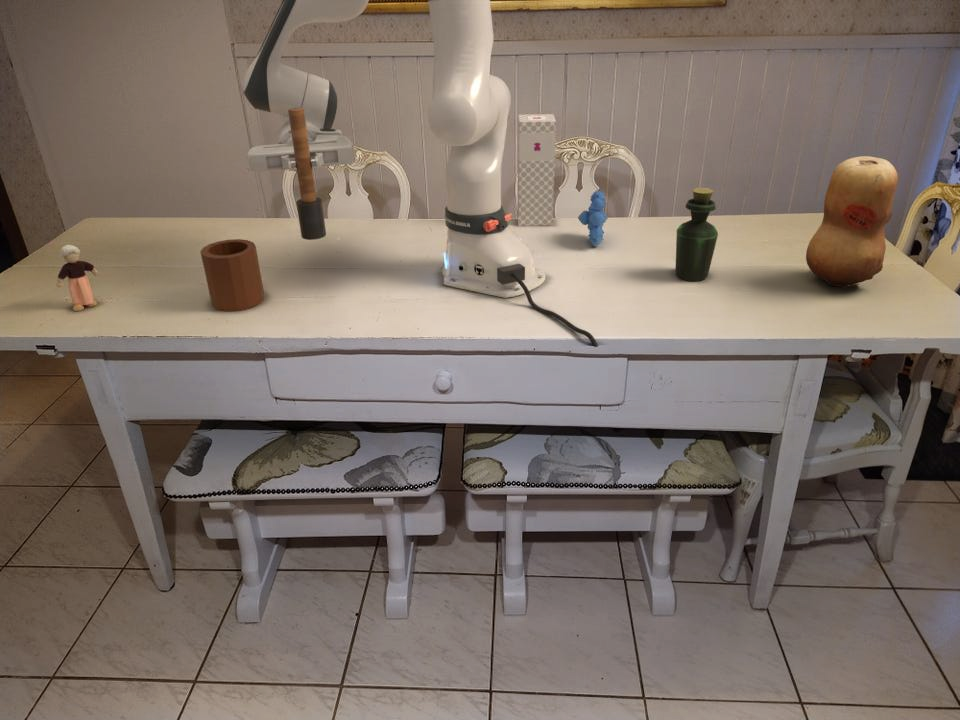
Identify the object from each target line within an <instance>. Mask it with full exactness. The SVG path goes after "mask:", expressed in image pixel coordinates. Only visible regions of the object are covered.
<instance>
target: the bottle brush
mask: <svg viewBox="0 0 960 720" xmlns="http://www.w3.org/2000/svg"><path fill="white" fill-rule="evenodd" d="M288 114H289V121H290V127H291V134H292V141H293V148H294V154H295V161H296V166H297V172H296V174H297V181H298V188H299V194H300V198H299V199H297V200H296V203H295V204H296V209H297V210H296V211H297V217H298V224H299V229H300V235H301V238H302V239H303V240H306V241H307V240H309V241H313V240H314V241H315V240H320V239H323V238H325V237H326V236H327V230H326V229H327V228H326V221H325V214H324V207H323V200H322V199H321V198H320V197H317V195H316V189H315V188H316V187H315V180H314V174H313V169H312V167H311V158H310V151H309V144H308V136H307V129H306V122H305V115H304V108H290V109H288Z"/></svg>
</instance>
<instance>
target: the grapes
mask: <svg viewBox="0 0 960 720" xmlns="http://www.w3.org/2000/svg"><path fill="white" fill-rule="evenodd" d="M605 201H606V195H605V194H604V193H603V191H601V190H600V189H597V190H595V191H593V193H592V194H591V196H590V202H591V203H590V205H589V207H588V209H587V210H583V211H582V212H581V213H580V214H579V215H578V217H577V219H578V220H579V222H580V223H581V224H582V225H583V226H587V229H588V231H589V232H588V233H589V234H588V240H589V242H590V244H591V245H593V246H594V247H597V246H599V245H600V244H601V243H602V242H603V241H604V238H603V237H604V233H605V231H604V230H603V226H604V224H605V223H606V221H607V220H608V216H607V214H605V210H604V208H605V207H606V203H605Z"/></svg>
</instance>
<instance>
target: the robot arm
mask: <svg viewBox="0 0 960 720" xmlns="http://www.w3.org/2000/svg"><path fill="white" fill-rule="evenodd" d="M369 2H370V0H282V1H281V4H280V5H279V7H278V9H277V11H276V14H275V16H274V17H273V19H272V23H271V24H270V27H269V28H268V31H267V33H266V35H265V37H264V40H263V42H262V44H261V46H260V48H259V50H258V53H257V54H256V55H255V58H254V60H253V61H252V62H251V64H250V65H249V67H248V69H247V71H246V73H245V76H244V80H243V94H244V97H245V98H246V100H247V101H248V102H249V105H251V107H253V108H254V110H259V111H264V112H266V113H273V114H277V115H280V116H283V117H284V119H283V120H282V121H281V122H280V124H279V126H278V127H277V130H276V131H277V132H276V143H274V144H262V145H261V144H260V145H255V146H253V147H251V148H250V149H249V150H248V151H247V154H246V158H247V162H248V167H249V171H250V172H252V173H265V172H266V173H267V172H277V171H289V172H296V173H297V166H296V161H295V154H294V148H293V141H292V134H291V127H290V121H289V114H288V109H290V108H304V115H305V122H306V129H307V136H308V144H309V151H310V158H311V167H312V170H315V169H320V168H322V167H332V166H342V165H343V166H344V165H352V164H355V163H356V153H355V152H356V151H355V146H354V143H353V141H352V140H351V139H350V138H349V137H348V136H346V135H344V134H343V132H342V130H341V129H337V128H336V129H335V128H332V127H333V125H334V122H335V119H336V115H337V109H338V94H337V92H336V88H335V86H334V85H333V83H332V82H331V81H330V80H328V79H326V78H323V77H321V76H318V75H315V74H313V73H310V72H306V71H303V70H300V69H297V68H295V67H292V66H288V65H286V64H284V63H282V62H281V61H280V60H281V58H282V56H283V54H284V52H285V50H286V47H288V44H289V42H290V39H291V38H292V36H293V33H294V32H295V31H296V30H297V29H298V28H300V27H301V26H304V25H309V24H317V23H318V24H319V23H321V24H322V23H328V24H330V23H331V24H337V23H344V22H349V21H351V20H353V19H355V18H357V17H359V16H360V15H361V14H362V13H364V12H365V10H366V8H367V6H368V4H369ZM427 2H428V9H429V18H430V26H431V33H432V41H433V74H432V75H433V76H432V77H433V78H432V96H431V97H432V98H431V102H430V106H429V109H428V113H427V116H428V117H427V119H428V125H429V129H430V130H431V132H432V134H433V136H434V137H435V138H436V139H437V140H438V141H439V142H441V143H442V144H444V145H446V146H450V150H449V151H450V152H449V155H448V156H449V157H448V161H447V163H446V166H445V185H446V186H445V189H446V206H445V208H444V219H445V221H444V222H445V227H446V229H447V231H446V232H447V233H446V246H445V252H443V258H444V260H443V261H444V263H443V266H442V270H441V274H442V276H443V285H444V286H446V287H447V286H448V287H450V288H451V287H452V288H455V289H461V290H465V291H466V290H467V291H471V292H475V293H481V294H484V295H490V296H494V297H498V298H506V299H508V298H514V297H518V296H521V295H524V294H525V297H526V299H527V301H528V303H529V305H530V306H531V307H532V308H533V309H534V310H535V311H537V312H539V313H542V314H545V315H548V316H551V317H553V318H555V319H556V320H558V321H560V322H561V323H562V324H564V325H565V326H566V327H567V328H569V329H570V330H572V331H574V332H575V333H578V334H580V335H583V336H585V337H586V338H588V340H589V341H590V343H591V345H592V347H594V348H598V347H599V346H598V343H597V340H596V339H595V337H594V336H593V334H592V333H590V332H589V331H587V330H585V329H581V328H580V327H577V326H575V325H574V324H573V323H571V322H570V321H569V320H568V319H566V318H564V317H563V316H561V315H560V314H558V313H556V312H555V311H552V310H549V309H545V308H542V307H540V306H538V304H537V303H536V302H535V301H534V299H533V298H532V296H531V291H533V290H535V289H537V288H538V287H540V286H541V285H542V284H543V283H544V282H545V281H546V277H547V276H546V273H545V272H544V271H543V270H540V269H538V268H536V266H535V258H534V254H533V251H532V249H531V248H530V247H529V246H528V245H527V244H526V243H525V242H524V241H523V238H520V237H519V236H518V235H517V234H516V232H514V230H513V229H512V228H510V226H509V222H508V221H510V220H511V219H513V218H512V217H511V216H512V215H513V213H512V212H511V213H508V214H506V212H505V209H504V207H503V205H502V166H503V162H502V161H503V158H504V157H503V156H504V151H505V144H506V137H507V125H508V118H509V113H510V109H511V103H512V97H511V92H510V89H509V86H508V85H507V84H506V83H505V81H504V80H503V79H501V78H500V77H498V76H497V75H493V74H491V59H492V50H493V46H494V40H495V39H494V37H495V36H494V25H493V18H492V16H493V15H492V6H491V0H428V1H427Z"/></svg>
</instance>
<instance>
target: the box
mask: <svg viewBox="0 0 960 720" xmlns="http://www.w3.org/2000/svg"><path fill="white" fill-rule="evenodd" d="M556 137H557V120H556V118H555V114H554V113H539V114H538V113H537V114H533V113H532V114H530V113H529V114H517V209H516V210H517V211H516V212H517V224H518V227H527V226H530V227H531V226H533V227H535V226H540V227H541V226H554V225H553V224H554V197H555V196H554V195H555V168H556Z"/></svg>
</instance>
